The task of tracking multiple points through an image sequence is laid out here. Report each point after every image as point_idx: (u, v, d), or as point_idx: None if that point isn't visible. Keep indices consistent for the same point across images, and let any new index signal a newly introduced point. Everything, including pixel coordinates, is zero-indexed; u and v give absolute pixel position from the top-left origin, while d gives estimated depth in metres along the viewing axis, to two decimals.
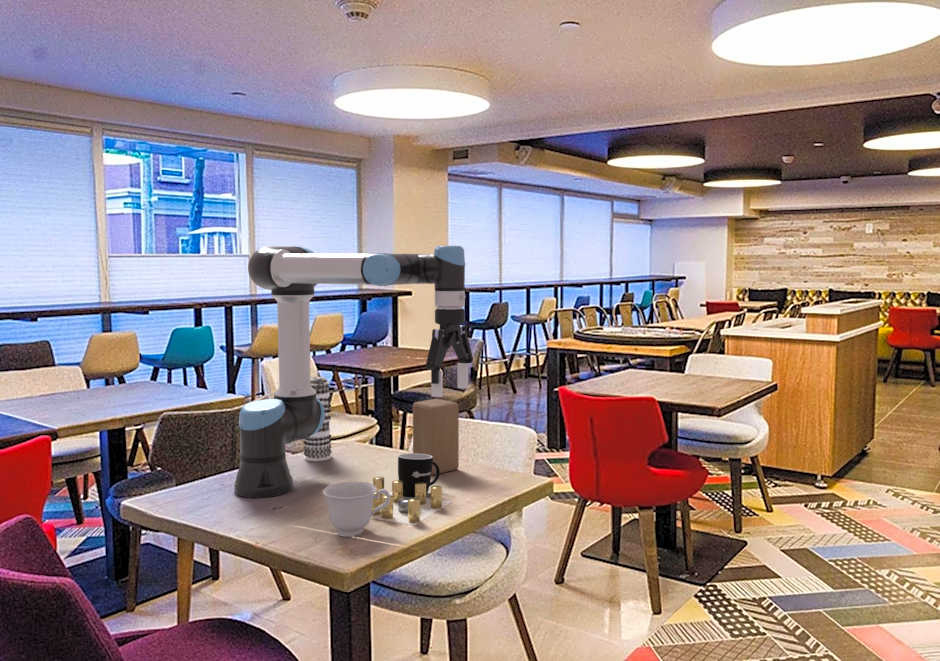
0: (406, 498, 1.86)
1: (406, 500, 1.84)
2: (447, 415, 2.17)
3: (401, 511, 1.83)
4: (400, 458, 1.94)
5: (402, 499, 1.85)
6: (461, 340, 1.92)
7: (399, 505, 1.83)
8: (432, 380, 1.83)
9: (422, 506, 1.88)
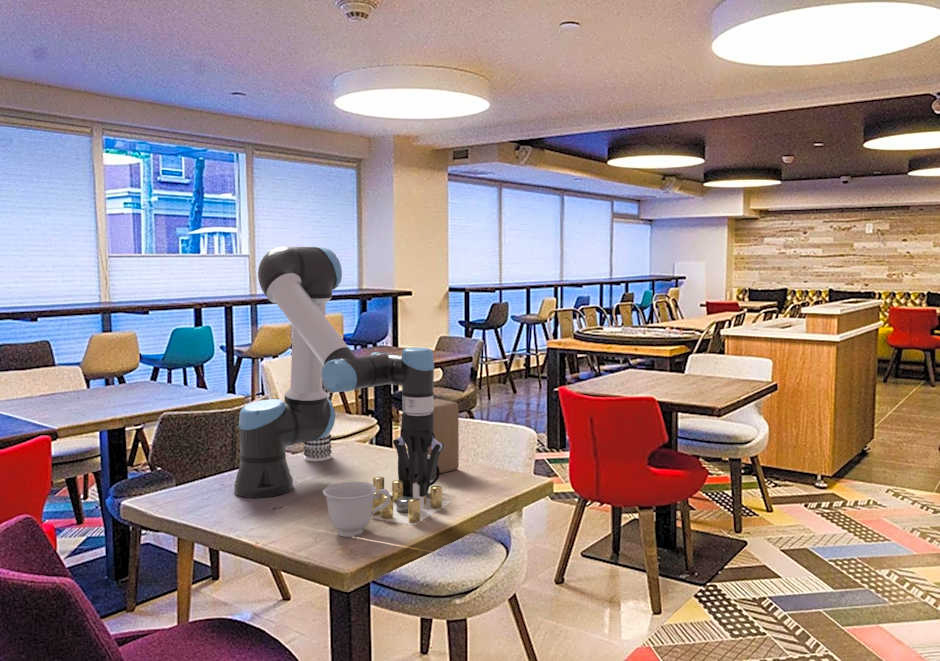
0: (404, 498, 1.86)
1: (404, 500, 1.85)
2: (447, 415, 2.17)
3: (399, 511, 1.83)
4: None
5: (400, 499, 1.85)
6: (419, 451, 1.80)
7: (397, 505, 1.83)
8: None
9: None
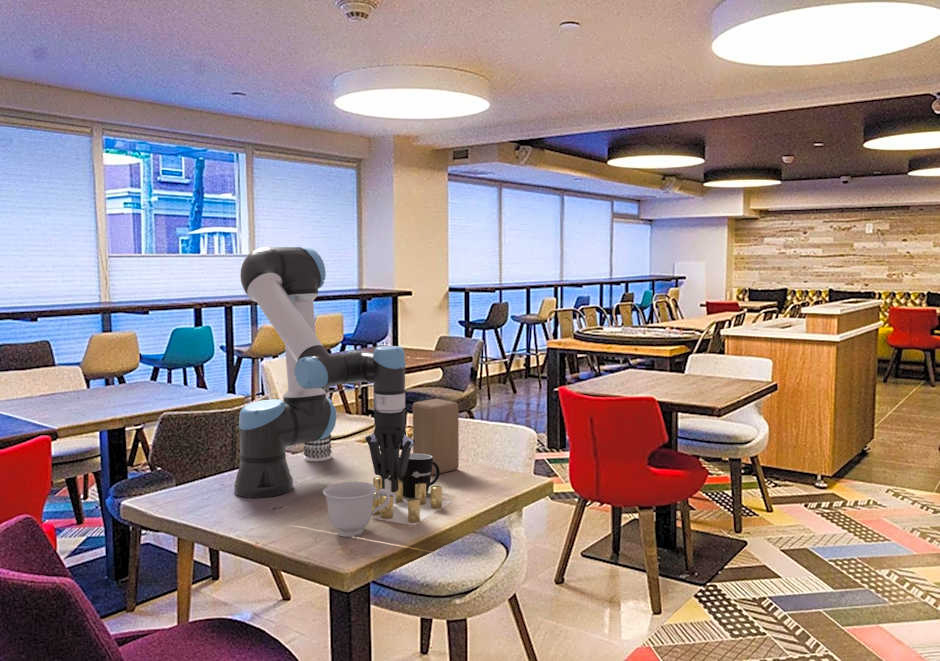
0: None
1: None
2: (447, 415, 2.17)
3: None
4: None
5: None
6: (390, 447, 1.84)
7: None
8: None
9: (422, 506, 1.88)
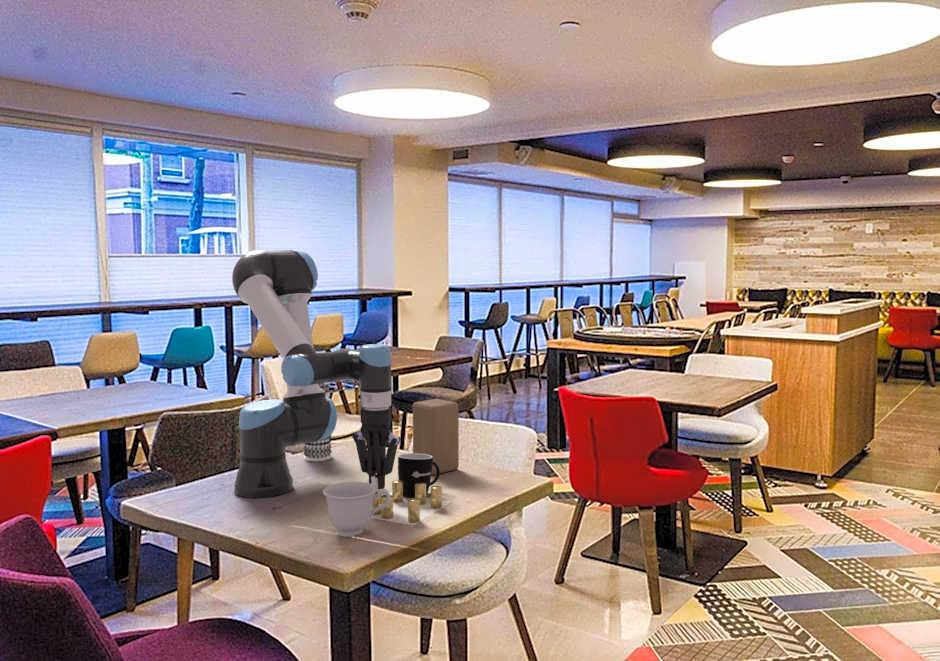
0: None
1: None
2: (447, 415, 2.17)
3: None
4: (400, 458, 1.94)
5: None
6: (377, 445, 1.85)
7: None
8: None
9: (422, 506, 1.88)
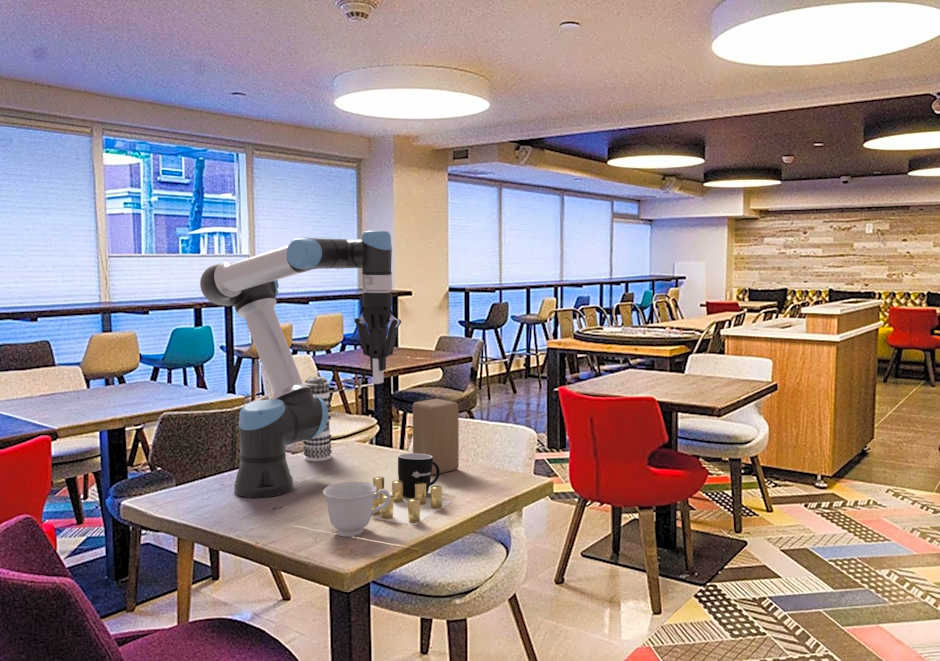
0: None
1: None
2: (447, 415, 2.17)
3: None
4: (400, 458, 1.94)
5: None
6: (378, 327, 1.93)
7: None
8: None
9: (422, 506, 1.88)
